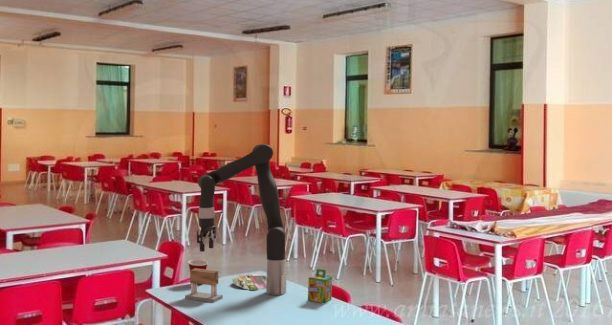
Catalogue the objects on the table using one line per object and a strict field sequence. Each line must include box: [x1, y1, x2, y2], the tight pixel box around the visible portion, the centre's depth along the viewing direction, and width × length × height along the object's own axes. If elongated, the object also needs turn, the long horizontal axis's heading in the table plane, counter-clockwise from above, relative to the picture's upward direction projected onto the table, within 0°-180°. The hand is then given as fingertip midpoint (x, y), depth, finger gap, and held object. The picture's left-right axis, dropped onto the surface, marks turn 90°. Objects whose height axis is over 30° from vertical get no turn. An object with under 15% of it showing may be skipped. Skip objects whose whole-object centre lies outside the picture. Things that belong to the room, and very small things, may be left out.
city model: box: [231, 273, 267, 291], centre depth 317 cm, size 25×23×6 cm
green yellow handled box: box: [307, 268, 333, 304], centre depth 291 cm, size 9×9×15 cm
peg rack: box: [184, 283, 223, 303], centre depth 290 cm, size 16×8×8 cm, turn 68°
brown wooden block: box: [189, 268, 219, 286], centre depth 290 cm, size 4×13×6 cm, turn 68°
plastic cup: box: [187, 259, 209, 286], centre depth 317 cm, size 11×11×12 cm
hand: (206, 249), depth 292 cm, fingers open, 8 cm apart
